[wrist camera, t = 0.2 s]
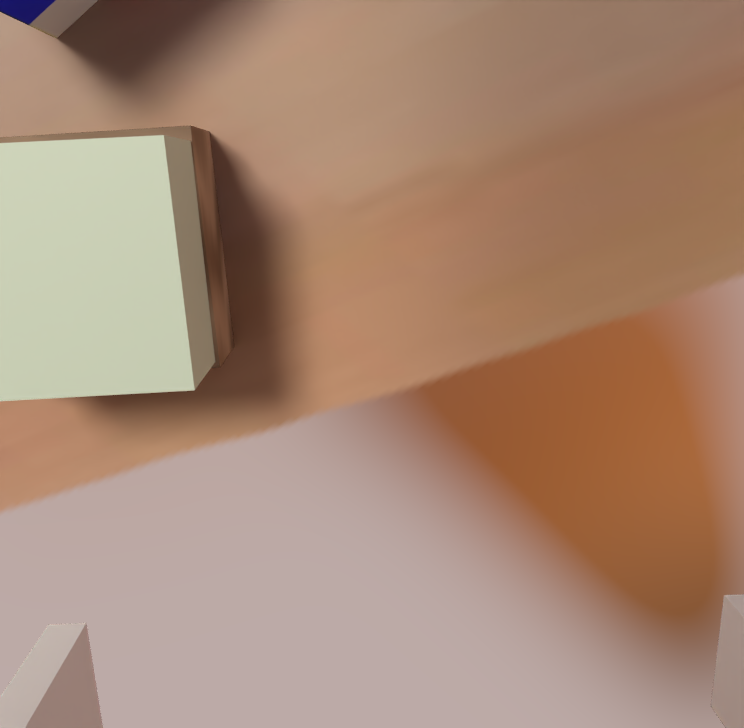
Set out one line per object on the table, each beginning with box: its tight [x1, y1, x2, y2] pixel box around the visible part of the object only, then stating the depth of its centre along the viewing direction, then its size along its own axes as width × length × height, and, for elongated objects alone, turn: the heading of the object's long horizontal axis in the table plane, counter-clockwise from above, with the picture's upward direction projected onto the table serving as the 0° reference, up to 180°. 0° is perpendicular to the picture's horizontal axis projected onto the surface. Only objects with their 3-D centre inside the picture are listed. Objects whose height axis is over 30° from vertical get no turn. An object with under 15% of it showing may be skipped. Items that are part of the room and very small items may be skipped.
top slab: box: [0, 135, 215, 401], centre depth 32 cm, size 11×11×5 cm
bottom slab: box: [0, 126, 234, 368], centre depth 37 cm, size 12×12×5 cm
